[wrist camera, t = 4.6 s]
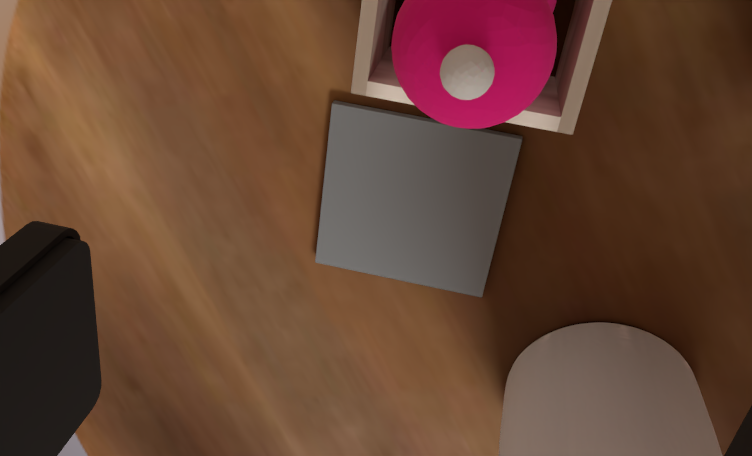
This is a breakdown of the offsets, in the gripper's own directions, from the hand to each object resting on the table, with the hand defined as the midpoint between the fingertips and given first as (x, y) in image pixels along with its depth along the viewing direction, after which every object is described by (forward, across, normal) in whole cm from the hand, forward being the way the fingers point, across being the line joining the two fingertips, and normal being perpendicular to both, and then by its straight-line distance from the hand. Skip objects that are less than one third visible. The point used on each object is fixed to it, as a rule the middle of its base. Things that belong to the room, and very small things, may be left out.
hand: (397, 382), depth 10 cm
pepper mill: (+34, 0, 0) cm, 34 cm away
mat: (+34, +2, +15) cm, 37 cm away
